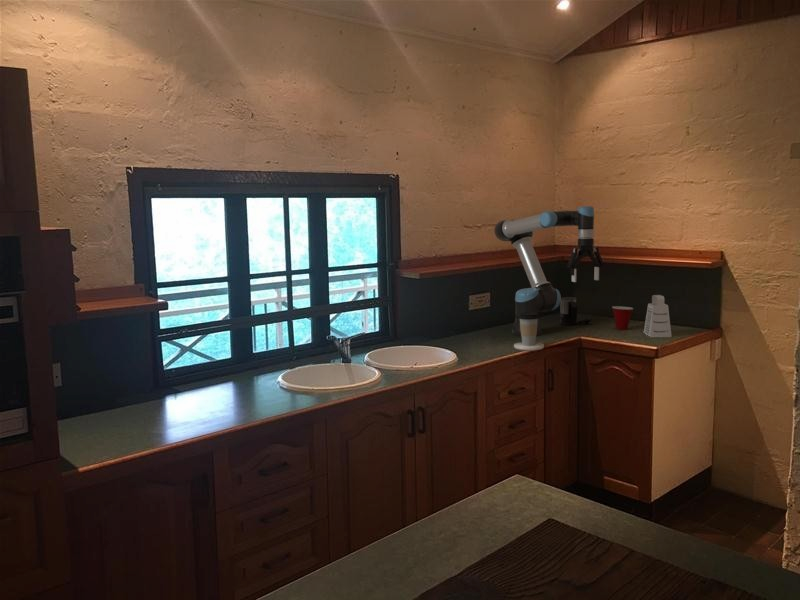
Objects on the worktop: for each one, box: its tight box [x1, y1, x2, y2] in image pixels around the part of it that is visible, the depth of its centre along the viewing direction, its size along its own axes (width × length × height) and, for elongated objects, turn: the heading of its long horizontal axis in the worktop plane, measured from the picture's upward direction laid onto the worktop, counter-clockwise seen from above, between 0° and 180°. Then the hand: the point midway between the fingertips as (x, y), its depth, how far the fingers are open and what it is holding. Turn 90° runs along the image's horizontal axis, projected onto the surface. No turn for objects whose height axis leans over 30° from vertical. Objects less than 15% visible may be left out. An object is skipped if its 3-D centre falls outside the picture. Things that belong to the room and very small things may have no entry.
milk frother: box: [559, 296, 593, 326], centre depth 384 cm, size 14×16×15 cm
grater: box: [643, 294, 672, 338], centre depth 346 cm, size 10×10×20 cm
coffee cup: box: [519, 312, 540, 346], centre depth 324 cm, size 9×9×15 cm
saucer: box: [513, 341, 545, 351], centre depth 325 cm, size 14×14×1 cm
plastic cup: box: [611, 305, 634, 331], centre depth 365 cm, size 11×11×12 cm
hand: (585, 281), depth 341 cm, fingers open, 13 cm apart
